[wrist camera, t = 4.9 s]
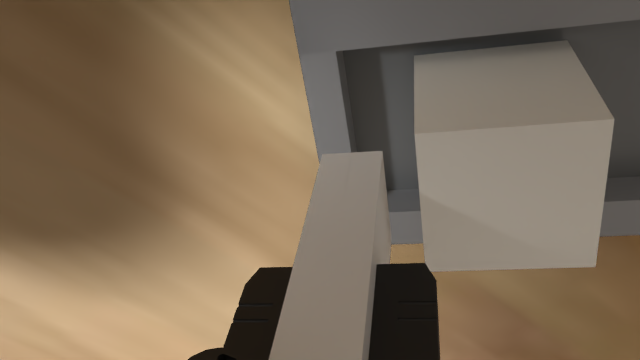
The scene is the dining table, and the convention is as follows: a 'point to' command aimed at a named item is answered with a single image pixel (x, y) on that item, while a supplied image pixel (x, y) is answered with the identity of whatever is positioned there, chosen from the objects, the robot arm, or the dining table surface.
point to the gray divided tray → (448, 36)
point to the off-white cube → (510, 158)
